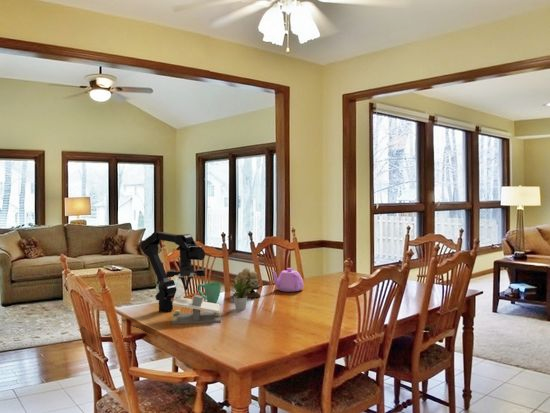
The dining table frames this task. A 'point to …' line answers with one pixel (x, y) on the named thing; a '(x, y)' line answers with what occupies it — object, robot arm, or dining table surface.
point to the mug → (210, 291)
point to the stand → (195, 317)
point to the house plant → (240, 294)
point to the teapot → (288, 280)
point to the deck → (189, 304)
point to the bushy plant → (250, 277)
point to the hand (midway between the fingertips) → (186, 290)
